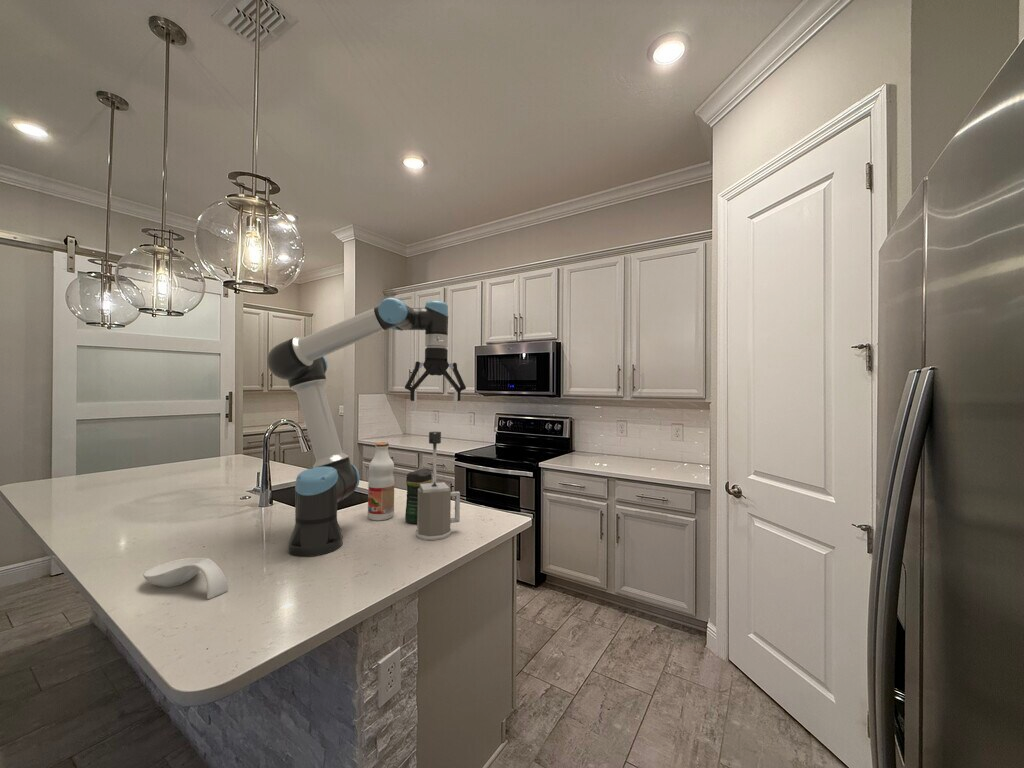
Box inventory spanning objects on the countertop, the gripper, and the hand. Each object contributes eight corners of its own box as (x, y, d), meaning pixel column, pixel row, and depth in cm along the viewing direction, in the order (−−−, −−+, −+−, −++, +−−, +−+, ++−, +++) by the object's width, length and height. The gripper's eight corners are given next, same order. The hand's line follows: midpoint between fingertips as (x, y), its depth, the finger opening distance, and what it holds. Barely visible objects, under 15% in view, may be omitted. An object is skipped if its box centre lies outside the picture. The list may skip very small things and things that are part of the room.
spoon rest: (132, 587, 102) (132, 558, 102) (185, 568, 113) (185, 541, 113) (193, 608, 93) (193, 576, 93) (244, 585, 104) (245, 556, 104)
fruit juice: (394, 519, 155) (395, 444, 155) (367, 522, 152) (368, 445, 152) (393, 512, 164) (394, 440, 164) (367, 514, 160) (368, 441, 161)
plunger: (424, 495, 136) (425, 433, 136) (421, 489, 143) (422, 431, 143) (447, 493, 138) (448, 433, 138) (443, 488, 145) (444, 430, 145)
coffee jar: (420, 525, 148) (420, 473, 148) (401, 522, 151) (402, 471, 151) (434, 517, 157) (435, 468, 157) (417, 515, 160) (417, 466, 160)
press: (418, 542, 133) (418, 491, 133) (414, 530, 144) (414, 483, 144) (462, 537, 138) (463, 488, 138) (455, 525, 149) (455, 480, 149)
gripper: (399, 345, 133) (398, 411, 133) (475, 348, 141) (474, 411, 141) (397, 347, 140) (396, 410, 140) (469, 350, 148) (468, 409, 148)
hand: (435, 410), depth 141 cm, fingers open, 13 cm apart
